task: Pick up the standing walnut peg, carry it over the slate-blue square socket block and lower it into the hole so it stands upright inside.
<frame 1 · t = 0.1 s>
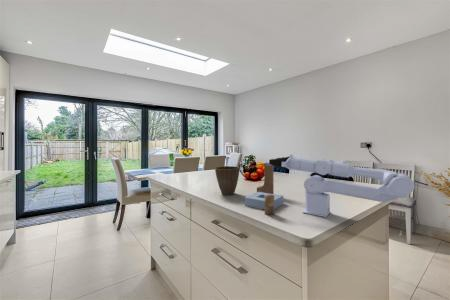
hand: (272, 161, 100), 22 cm above the table, tool horizontal, fingers open, 7 cm apart
socket: (264, 204, 101), on the table
peg: (269, 213, 88), on the table
plant pot: (227, 194, 124), on the table
wooden block: (265, 195, 120), on the table
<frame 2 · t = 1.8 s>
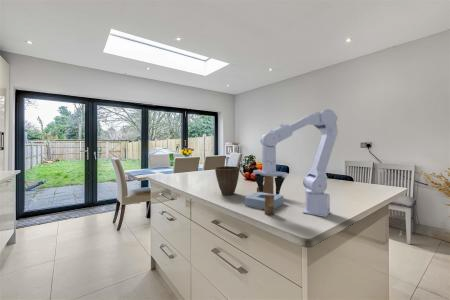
hand: (269, 192, 87), 9 cm above the table, tool pointing down, fingers open, 7 cm apart
nothing on the table moved.
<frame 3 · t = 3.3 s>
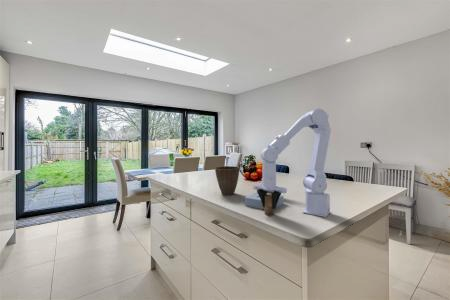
hand: (269, 207, 88), 3 cm above the table, tool pointing down, fingers closed on peg, 4 cm apart
peg: (269, 213, 88), on the table, touching gripper
everything else where it was.
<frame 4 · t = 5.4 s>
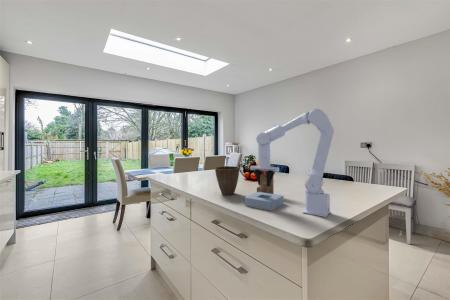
hand: (264, 185, 100), 10 cm above the table, tool pointing down, fingers closed on peg, 4 cm apart
peg: (264, 191, 100), point 7 cm above the table, touching gripper
everything else where it was.
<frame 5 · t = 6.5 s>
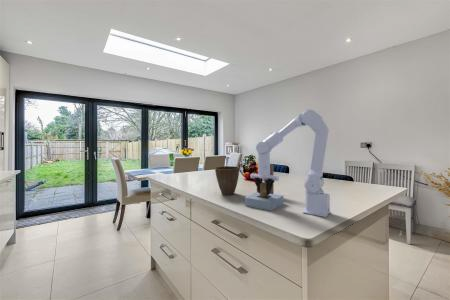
hand: (264, 193, 101), 5 cm above the table, tool pointing down, fingers closed on peg, 4 cm apart
peg: (264, 199, 101), point 3 cm above the table, touching gripper
everything else where it was.
when the fingers open (5 cm above the table, at t = 7.5 s): peg drops 2 cm, resting in socket.
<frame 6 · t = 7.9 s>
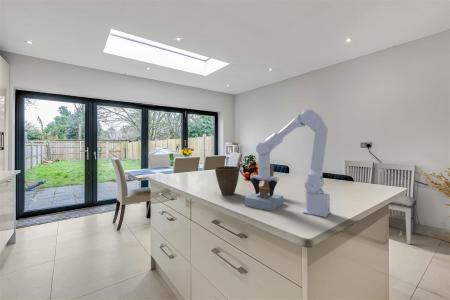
hand: (264, 194, 101), 5 cm above the table, tool pointing down, fingers open, 7 cm apart
peg: (264, 204, 101), resting in socket
everything else where it was.
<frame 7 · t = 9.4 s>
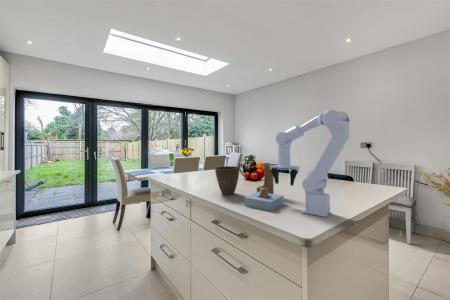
hand: (284, 184, 101), 10 cm above the table, tool pointing down, fingers open, 7 cm apart
nothing on the table moved.
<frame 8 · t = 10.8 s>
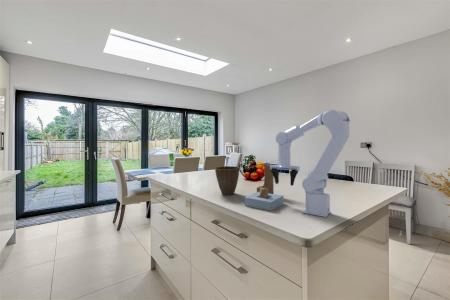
hand: (284, 184, 101), 10 cm above the table, tool pointing down, fingers open, 7 cm apart
nothing on the table moved.
at the end: peg 0.3 cm off-centre on the socket, point 0.0 cm above the socket's base; peg tilted 0°; the gripper is holding nothing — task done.
